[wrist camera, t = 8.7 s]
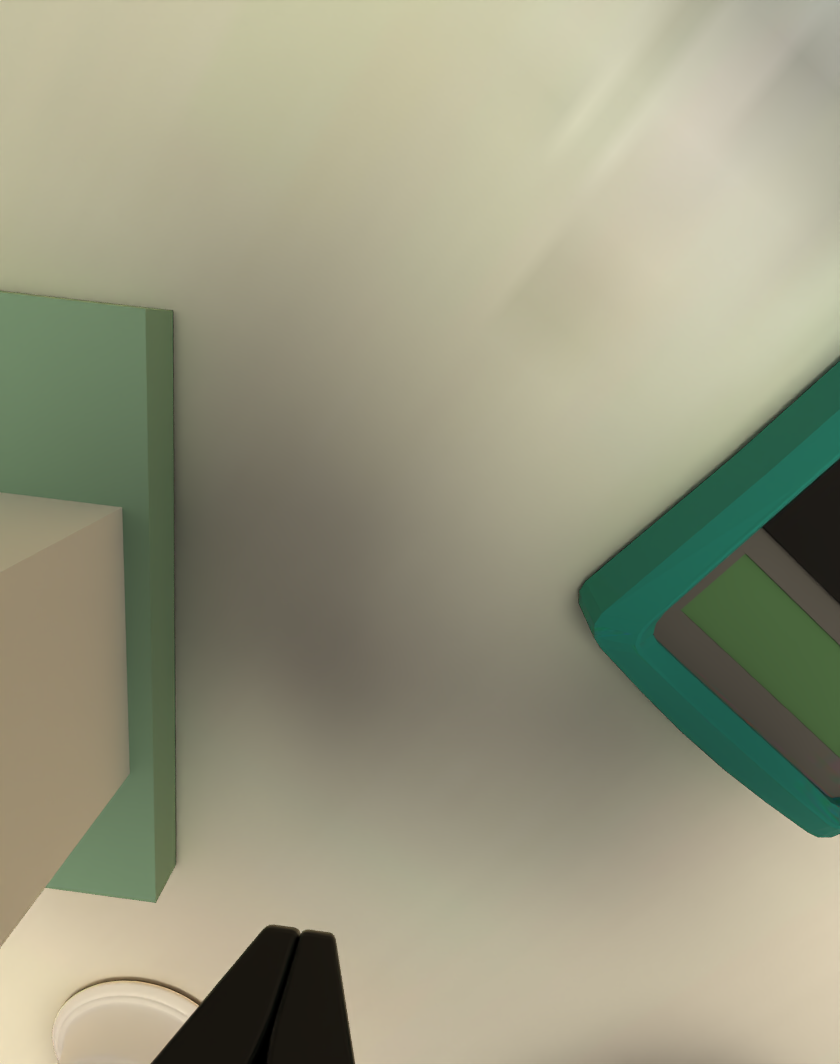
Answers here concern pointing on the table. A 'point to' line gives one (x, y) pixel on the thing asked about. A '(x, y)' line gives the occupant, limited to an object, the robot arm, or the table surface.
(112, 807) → the header board
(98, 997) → the candle
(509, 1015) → the table surface
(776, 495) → the digital multimeter
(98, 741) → the block
